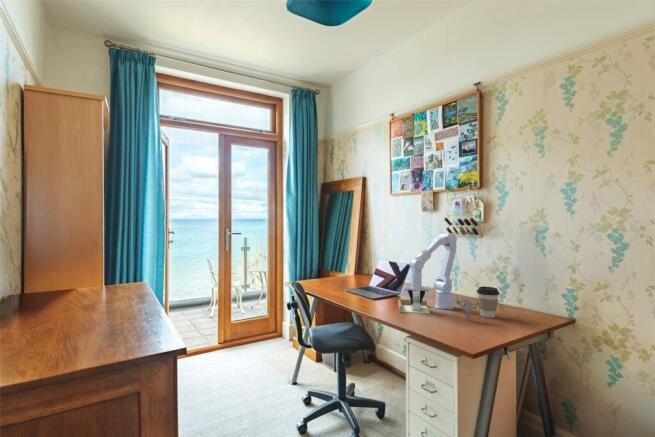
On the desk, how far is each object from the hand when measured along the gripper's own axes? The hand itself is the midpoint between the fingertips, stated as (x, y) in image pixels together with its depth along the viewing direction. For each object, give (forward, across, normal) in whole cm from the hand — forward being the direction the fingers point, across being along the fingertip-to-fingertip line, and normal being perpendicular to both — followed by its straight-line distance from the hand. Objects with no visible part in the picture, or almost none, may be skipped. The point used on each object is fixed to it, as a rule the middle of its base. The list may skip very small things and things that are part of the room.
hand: (416, 303), depth 196 cm
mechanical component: (+4, -24, +16) cm, 29 cm away
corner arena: (+3, +1, -1) cm, 4 cm away
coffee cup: (+4, -37, +6) cm, 38 cm away
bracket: (+3, 0, -2) cm, 3 cm away
